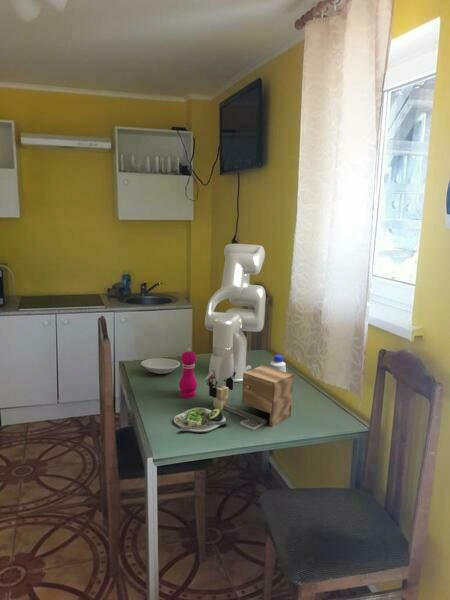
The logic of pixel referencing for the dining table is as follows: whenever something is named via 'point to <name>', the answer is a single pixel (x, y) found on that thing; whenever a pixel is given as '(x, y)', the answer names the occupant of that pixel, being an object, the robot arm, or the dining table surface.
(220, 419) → the salad plate
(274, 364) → the bottle
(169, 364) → the dish
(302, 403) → the dining table surface
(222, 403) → the beige mallet
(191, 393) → the pepper mill
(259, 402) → the wooden box
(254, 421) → the gray rectangular block
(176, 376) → the dining table surface
